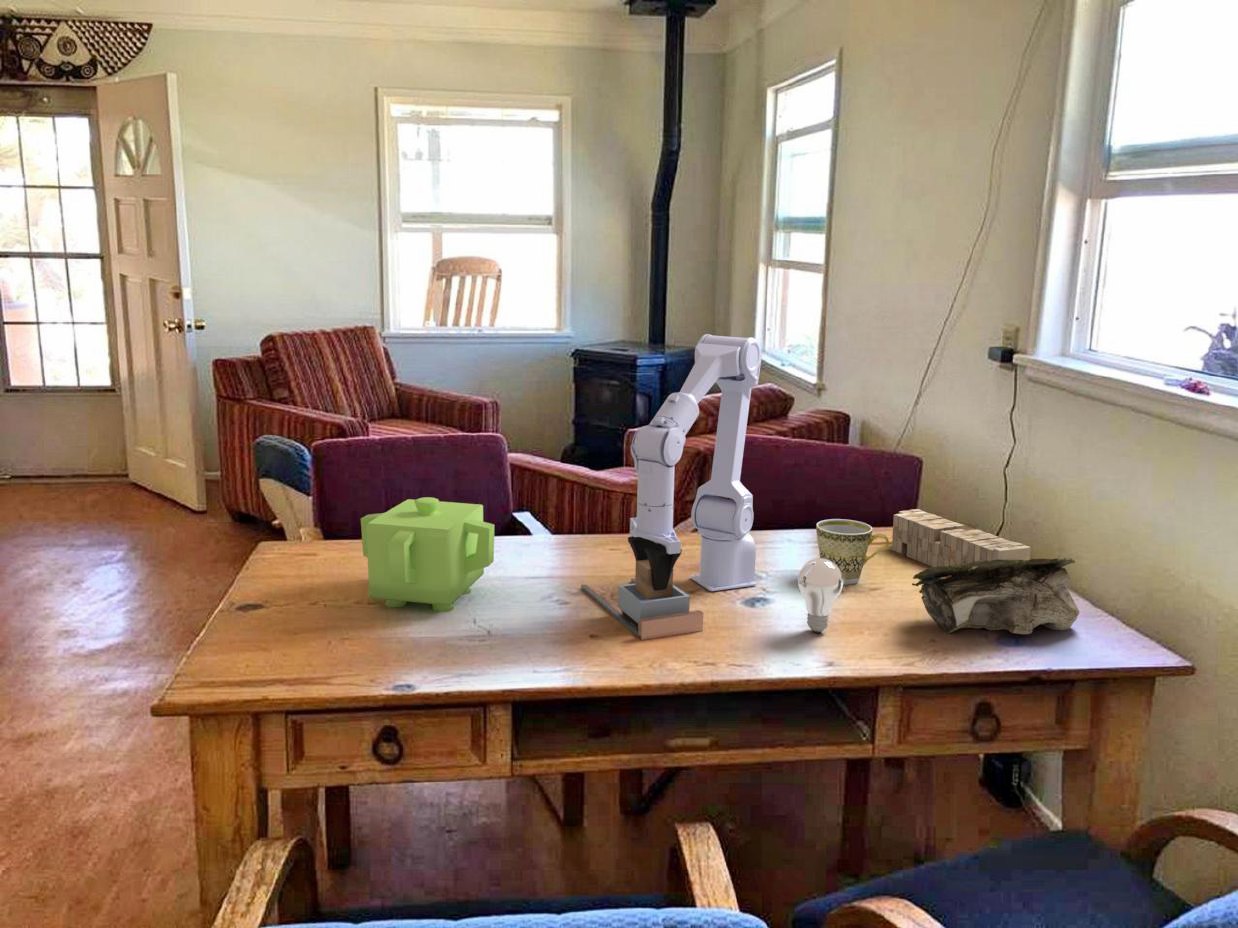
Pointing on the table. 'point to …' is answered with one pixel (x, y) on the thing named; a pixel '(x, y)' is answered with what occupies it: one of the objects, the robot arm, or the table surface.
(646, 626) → the rails
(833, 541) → the ceramic cup
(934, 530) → the block tower
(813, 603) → the light bulb
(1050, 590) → the driftwood chunk
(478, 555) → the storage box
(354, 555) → the table surface
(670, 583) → the walnut block
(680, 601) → the grey open tray bin
